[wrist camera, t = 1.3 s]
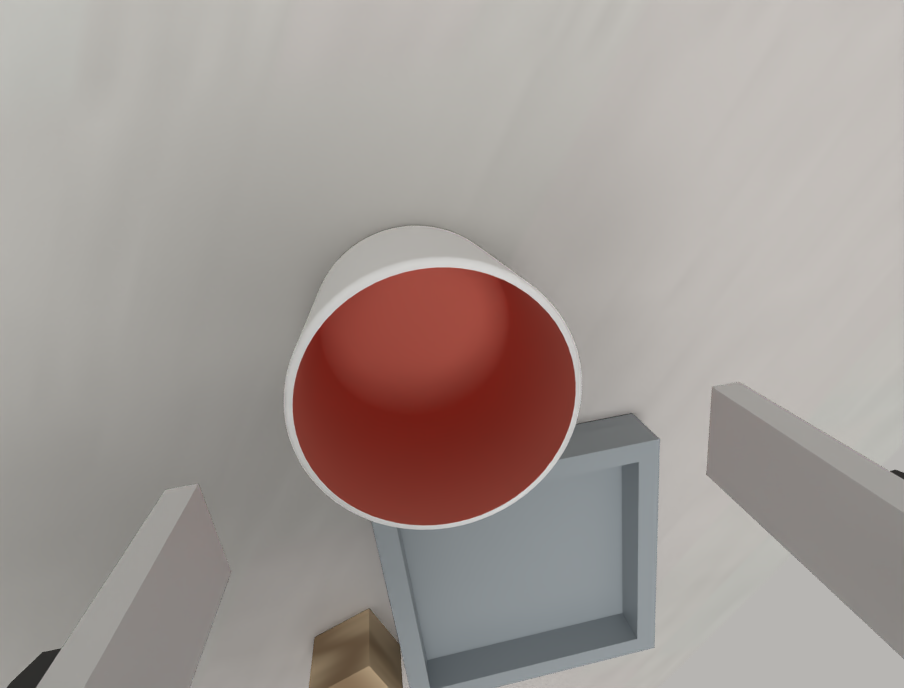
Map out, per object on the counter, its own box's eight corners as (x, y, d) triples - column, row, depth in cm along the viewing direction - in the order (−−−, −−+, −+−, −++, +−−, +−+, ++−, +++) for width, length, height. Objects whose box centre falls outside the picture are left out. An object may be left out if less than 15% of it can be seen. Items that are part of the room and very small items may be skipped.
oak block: (347, 671, 33) (345, 735, 29) (314, 636, 32) (307, 698, 28) (399, 643, 33) (403, 704, 29) (369, 607, 32) (369, 665, 28)
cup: (499, 405, 28) (563, 524, 19) (318, 409, 26) (290, 540, 17) (517, 226, 25) (605, 262, 16) (311, 217, 23) (272, 251, 14)
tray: (410, 663, 34) (414, 707, 31) (366, 465, 28) (366, 499, 25) (631, 609, 35) (654, 647, 32) (632, 413, 30) (659, 439, 27)
